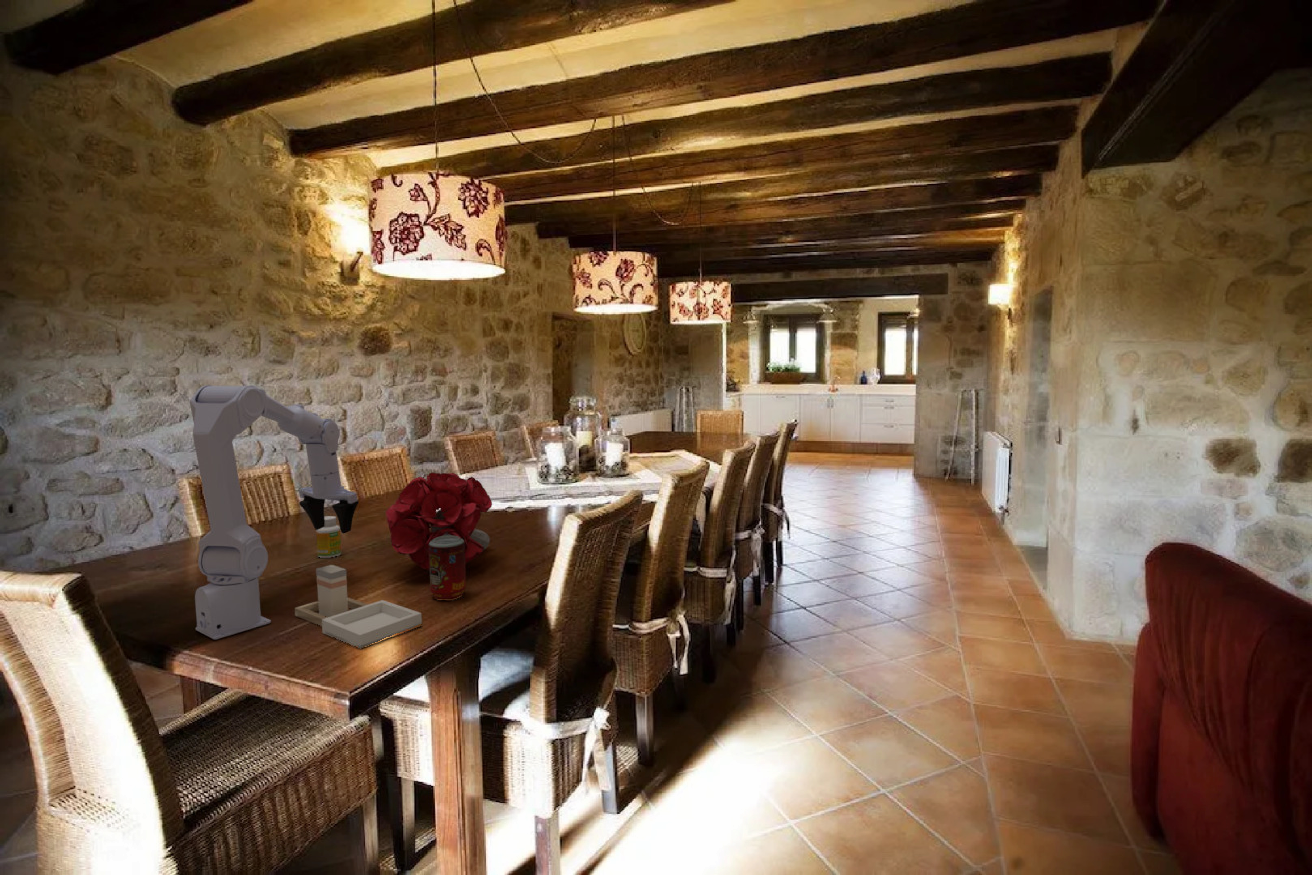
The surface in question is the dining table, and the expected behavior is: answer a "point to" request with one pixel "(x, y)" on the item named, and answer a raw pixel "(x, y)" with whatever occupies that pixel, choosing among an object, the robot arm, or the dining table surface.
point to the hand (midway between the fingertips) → (333, 530)
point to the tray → (370, 623)
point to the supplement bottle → (329, 539)
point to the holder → (308, 609)
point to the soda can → (447, 567)
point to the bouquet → (438, 515)
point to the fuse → (332, 590)
